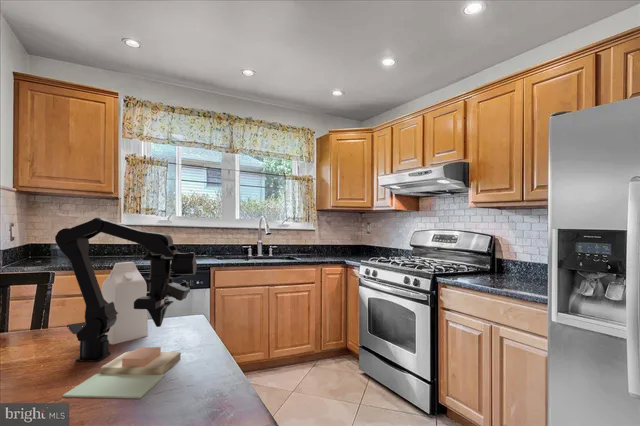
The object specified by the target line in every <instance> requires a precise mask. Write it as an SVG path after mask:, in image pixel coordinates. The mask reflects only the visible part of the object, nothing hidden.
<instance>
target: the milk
mask: <svg viewBox="0 0 640 426" xmlns="http://www.w3.org/2000/svg"><path fill="white" fill-rule="evenodd" d="M147 289H148V286H147V281H146V280H145V279H144V276H142V274H141V273H140V271H139V270H138V268H137V266H136V263H135V262H134V261H126V262H115V264H114V265H113V268H112V270H111V271H110V273H109V274H108V276H106V278H105V279H104V281H103V282H102V285H101V289H100V290H101V293H102V295H103V298H104V300H105V301H106V302H108V303H111V302H113V303H114V306H115V310H116V311H117V313H118V314H117V315H116V316H117V320H116V322H115V324H114V325H113V326H112V327H110V330H109V332H107V333H105V335H108V340H109V345H116V344H119V343H121V344H122V343H123V342H124V343H125V342H128V341H132V340H133V341H134V340H136V339H140V338H144V337H148V336H149V329H148V325H149V324H148V323H149V322H148V310H147V309H134V301H135V300H136V299H138V298H141V297H148V296H146V293H148V290H147Z"/></svg>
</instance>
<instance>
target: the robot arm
mask: <svg viewBox="0 0 640 426" xmlns="http://www.w3.org/2000/svg"><path fill="white" fill-rule="evenodd" d="M101 233H102V234H106V235H110V236H113V237H116V238H119V239H123V240H126V241H130V242H133V243H136V244H138V245H139V246H140V247H142V248H145V250H148V251H150V252H147V254H146V255H145V256H144V257H142V261H150V262H149V278H147V279H146V284H147V283H149V289H148V290H149V291H147V293H146V296H147V297H141V298H138V299H136V300H135V301H134V309H147V313H149V315H150V317H151V319H152V321H153V323H154V325H155V327H157V328H160V327H162V324H163V321H164V318H165V315H166V312H167V309H168V307H169V306H171V305H172V304H173V303H174V301H173V300H170V297H171V298H174V299H175V300H176V301H183V300H184V299H185V300H186V298H187V297H188V294H189V293H191V290H190V289H191V287H190V283H189V282H188V281H182V282H181V283H179V282H178V283H176V282H174V276H171V272H172V273H174V275H175V276H177V275H179V276H184V275H186V276H188V275H189V276H193V275H196V273H197V267H198V266H197V265H198V262H197V258H196V252H179V250H178V249H177V247H176V246H175V244H174V241H173V238H172V236H171V235H170V234H167V233H162V232H155V231H154V232H151V231H146V230H142V229H141V230H140V229H138V228H134V227H131V226H128V225H124V224H120V223H118V222H114V221H112V220H108V219H107V218H104V217H103V218H102V217H95V218H93V219H90V220H88V221H86V222H83V223H81V224H78V225H75V226H73V227H65V228H62V229H60V230H58V232H57V233H56V235H55V238H54V240H55V244H56V245H57V247H58V248H59V250H60V252H61V253H62V254H63V255H64V256H65V257H67V259H68V260H69V262H70V265H71V268H72V269H73V273H74V276H75V278H76V281H77V284H78V287H79V290H80V293H81V296H82V298H83V299H82V300H83V301H84V304H85V310H84V322H85V323H86V326H85V327H83V328H82V329H81V330H80V331H79V332H78V333H77V334H75V336H76V338H77V341H78V342H79V357H77V358H76V359H75V361H76V362H98V361H100V360H102V359H104V358H105V357H108V356H109V355H110V354H111V351H109V345H110V343H109V340H108V335H105V333H107V332H109V330H110V327H112V326H113V325H114V324H115V322H116V320H117V316H116V315H117V314H118V313H117V311H116V310H115V306H114V303H113V302H111V303H108V302H106V301H105V300H104V298H103V295H102V293H101V290H102V289H101V287H100V285H99V284H100V283H99V282H98V278H97V275H96V274H95V270H94V268H93V265H92V261H91V259H90V257H89V248H90V241H89V240H90V239H93V238H94V237H96V236H97V235H99V234H101Z"/></svg>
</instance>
